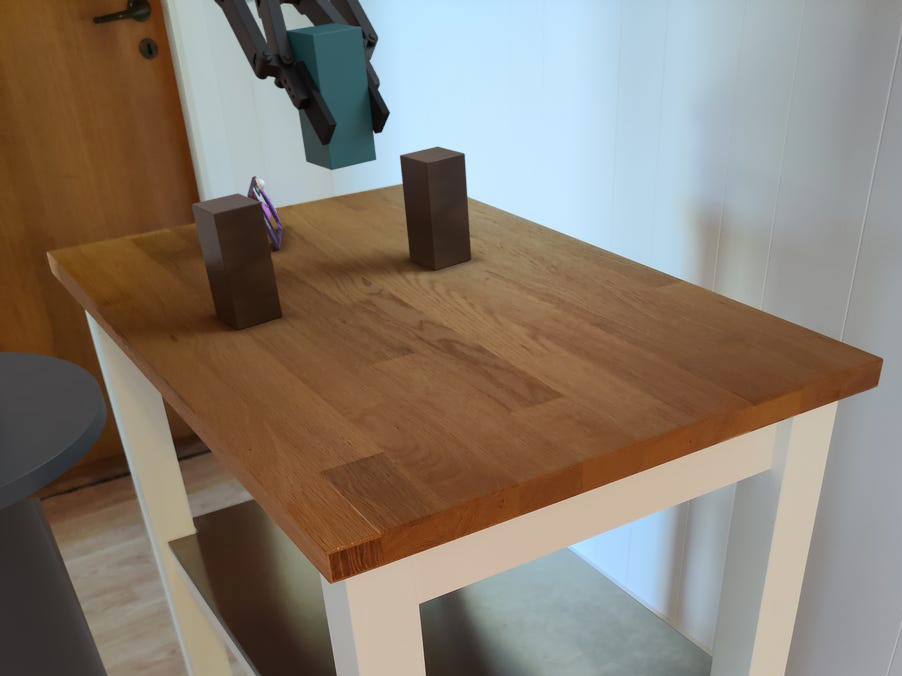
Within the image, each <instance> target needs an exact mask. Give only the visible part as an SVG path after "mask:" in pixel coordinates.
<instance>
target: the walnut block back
mask: <svg viewBox="0 0 902 676" xmlns="http://www.w3.org/2000/svg"><path fill="white" fill-rule="evenodd" d="M399 161H400V171H401V181H402V182H401V183H402V192H403V193H402V194H403V202H404V213H405V223H406V233H407V242H408V252H409V260H410V262H413V263H415V264H418V265H421V266H423V267H424V268H425V267H426V268H428V269H430V270H434V271H438V270H442V269H445V268H448V267H451V266H455V265H458V264H461V263H465V262H468V261H471V260H472V249H471V247H472V246H471V232H470V218H469V217H470V216H469V215H470V214H469V199H468V184H467V167H466V154H465V153H464V152H461V151H456V150H454V149H453V150H452V149H450V148H444V147H442V146H434V147H430V148H429V147H428V148H425V149H420V150H416V151H412V152H407V153H403V154H400V155H399Z"/></svg>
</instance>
